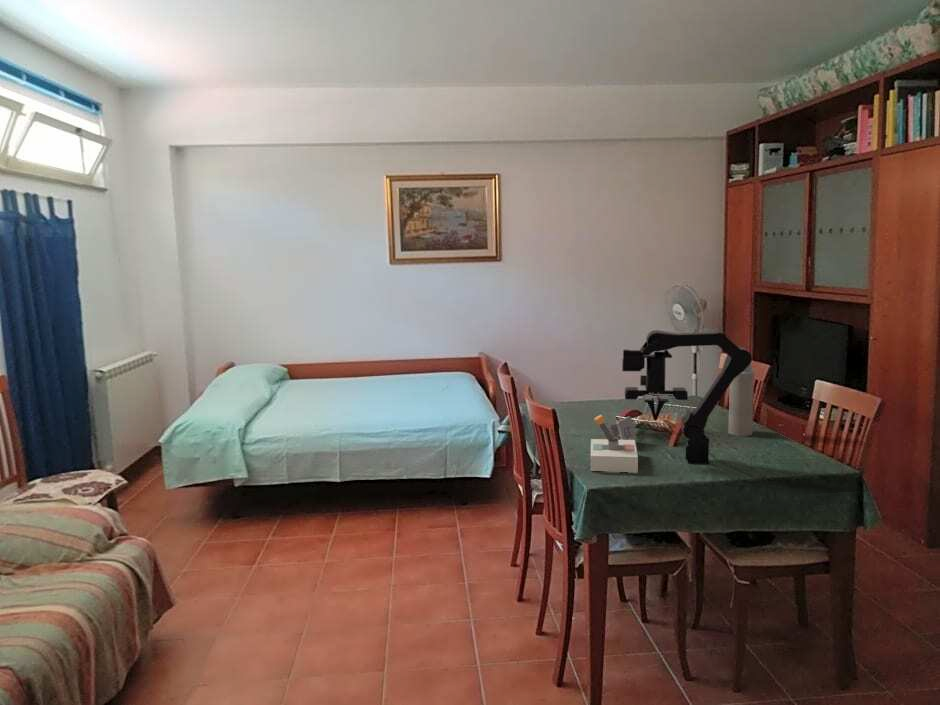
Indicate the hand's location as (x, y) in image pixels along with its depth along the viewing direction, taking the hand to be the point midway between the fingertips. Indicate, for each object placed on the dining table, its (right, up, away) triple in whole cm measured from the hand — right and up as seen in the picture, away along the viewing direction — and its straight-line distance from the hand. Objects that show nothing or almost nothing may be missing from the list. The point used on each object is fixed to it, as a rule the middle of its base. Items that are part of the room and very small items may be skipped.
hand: (655, 420), depth 225 cm
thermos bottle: (+38, -7, +29) cm, 48 cm away
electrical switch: (-6, -10, +19) cm, 23 cm away
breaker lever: (-13, -7, -1) cm, 15 cm away
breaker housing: (-13, -14, 0) cm, 19 cm away
